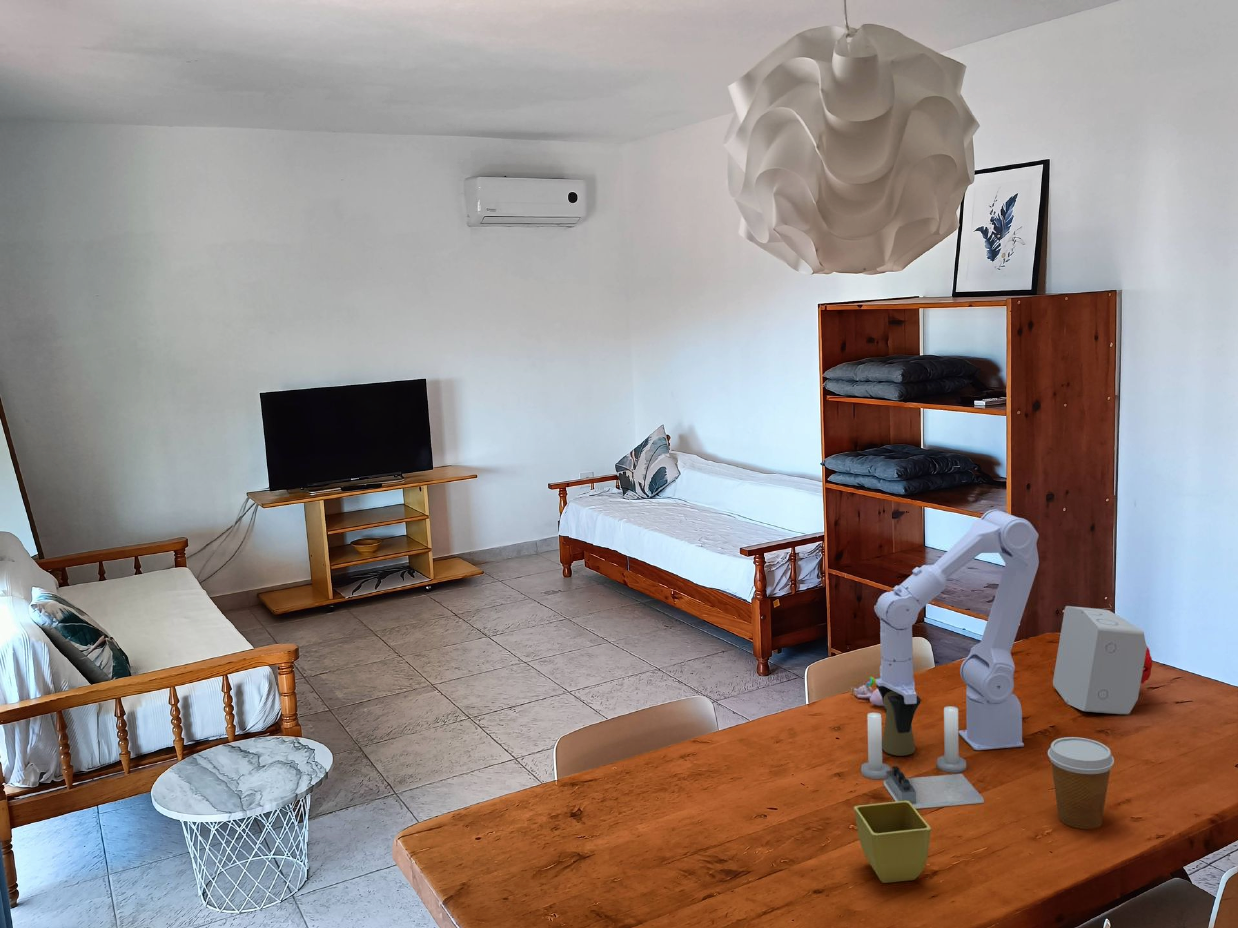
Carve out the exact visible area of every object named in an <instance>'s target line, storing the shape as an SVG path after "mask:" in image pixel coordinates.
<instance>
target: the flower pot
mask: <svg viewBox="0 0 1238 928" xmlns="http://www.w3.org/2000/svg"><path fill="white" fill-rule="evenodd" d="M853 810H854V815H855V816H854V817H855V823H856V829H857V835H858V840H859V843H860V846H861V848H862V850H863V853H864V856H865V858H866V859H867V862H868V863H869V865H870V866H871V868H872V870H873V871H874V872H875V874H876V876H877V878H878V879H879V881H880V882H881V883H883V884H888V883H897V882H905V881H914V880H916V879H917V878H918V877H919V876H920V874H921V873H922V871H923V870H924V868H925V865H926V863H927V861H928V856H929V849H930V848H929V847H930V839H931V831H932V827H931V826H930V825H929V823H927V821H926V820H925V819H924V818H923V817H922V816H921V815H920V813H919V811H918V810H917V809H915V808H914V806H913V805H912V804H911V803H910V802H909V801H897V802H896V801H890V802H889V801H888V802H881V803H869V804H862V805H860V804H859V805H855V806H854V807H853Z"/></svg>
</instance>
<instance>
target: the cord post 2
mask: <svg viewBox="0 0 1238 928" xmlns="http://www.w3.org/2000/svg"><path fill="white" fill-rule="evenodd" d="M943 731H944V732H943V742H944V743H943V744H944V745H943V746H944V748H943V749H944V755H941V756H939V757H937V759H936V766H937V768H938V769H939V770H941V771H943V772H946V773H949V772H950V774H961V773H964V772H965V771H966V770H967V760H966V759H964V758H963V757H960V756H959V709H958V707H956V706H950V705H949V706H944V708H943Z"/></svg>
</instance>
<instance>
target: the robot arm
mask: <svg viewBox="0 0 1238 928" xmlns="http://www.w3.org/2000/svg"><path fill="white" fill-rule="evenodd" d="M1038 540H1039V533H1038V532H1037V530H1036V529H1035V527H1034V526H1033V524H1032V523H1031V522H1030V521H1028V520H1027V519H1025V518H1023V517H1018V516H1015V515H1012V514H1009V513H1007V512H1005V511H1003V510H1000V509H996V508H995V509H990V510H988V511H986V512H985V513H983V515H982V516H981V517H980V518H978V519H976V520H975V521H973V523H972V524H971V526H970V528H969V530H968V531H967V532H966V533H965V534H964V535H963V536H962V537H960V539H959V540H957V542H956V543H954V545H953V546H951V547H950V548H949V549H948V551H946V552H945V553H944V554H943V555H942V556H941V557H940V558H939V559H938V560H937V561H935V563H934V564H931V565H927V564H923V565H922V566H920V567H918V566H916V567H915V568H913V569H912V570H911V571H912V574H911V575H910V576H908V577H907V578H906V579H905V580H904V581H903V582H902V583H899V585H895V586H894V587H893V589H892V590H893V591H886V592H884V593H882V594H881V595H880V596H879V598H878V599H877V602H876V604H875V605H874V607H873V610H874V612H875V614H876V616H877V617H878V618H879V622H880V624H879V625H880V629H879V630H880V632H879V634H880V635H879V636H880V637H879V638H880V663H881V664H880V665H879V676H880V677H879V678H875V683H876V685H875V686H876V689H878V690H879V692H880V694H881V697H882V700H883V703H884V696H885V695H886V694H887V693H888V692H890V691H895V692H897V693H898V696H888V700H889V702H890V704H891V706H892V709H893V712H894V716H895V723H896V728H897V731H898V733H907V732H910V728H911V725H912V724H913V720H914V715H915V713H916V711H917V709H918V708H919V706H920V704H921V702H922V701H921V697H920V696H918V695H917V692H916V691H915V678H914V658H913V657H914V655H913V652H914V651H913V649H914V648H913V625H915V623H916V622H917V620H918V617H919V613H920V611H921V610H922V609H923V608H925V607H926V605H928V604H929V603H930V602H931V601H932V600H934V599H935V598H936V597H937V596H939V595H940V594H941V593H942V592H943V591H945V589H946V585H947V579H948V578H950V577H951V576H952V575H954V574H955V573H956V572H957V571H959V570H960V569H962V568H963V567H964V566H966V565H967V564H969V563H970V562H971V561H973V559H975V558H976V557H978V556H979V555H981V554H997V553H998V554H999V556H1000V557H1001V559H1002V561H1003V562H1004V564H1005V565H1004V568H1003V571H1002V575H1001V577H1000V581H999V584H998V587H997V589H996V593H995V596H994V600H993V602H992V606H991V609H990V612H989V615H988V618H987V622H986V624H985V628H984V631H983V634H982V637H981V640H980V641H979V642H978V643H977V644H975V645H973V646H972V647H971V649H970V652H969V654H968V656H967V657H966V658H965V659H964V660H963V661H962V663H961V666H960V668H959V674H960V677H961V680H962V681H963V682H964V683H965V684H966V693H965V694H966V695H965V696H966V699H965V700H966V729H965V730H963V729H962V730H958V735H960V736H961V738H962V739H964V741H965V742H966V743H968V745H970V746H971V747H972V749H973V750H975V751H981V750H982V751H983V750H995V749H1005V748H1007V749H1010V748H1018V747H1021V748H1022V747H1024V746H1025V743H1023V711H1022V706H1021V702H1020V700H1019V699H1018V697H1017V696H1016V694H1013V692H1014V689H1015V682H1014V673H1015V671H1016V670H1015V669H1016V666H1015V663H1014V660H1013V657H1012V654H1011V652H1012V649H1013V646H1014V642H1015V639H1016V636H1017V633H1018V630H1019V626H1020V624H1021V620H1022V617H1023V615H1024V611H1025V608H1026V605H1027V603H1028V599H1029V596H1030V592H1031V590H1032V588H1033V583H1034V581H1035V577H1036V574H1037V571H1038V568H1039V565H1040V564H1039V563H1040V561H1039V560H1040V559H1039V552H1038V547H1037V546H1038V545H1037V542H1038ZM883 707H884V711H885V713H886V712H887V709H886V708H885V706H884V705H883Z"/></svg>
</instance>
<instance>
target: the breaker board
mask: <svg viewBox="0 0 1238 928" xmlns="http://www.w3.org/2000/svg"><path fill="white" fill-rule="evenodd" d="M885 779H886V780H885ZM885 779H883V786H884V787H885V789H886V790H887V791H888V793H889V794H890V796H891V798H893V800H894V802H897V801H909V802H910V803H911V804H912V805H913V806H914V808H915V809H916V810H917V809H918V810H919V809H928V808H941V807H949V806H950V807H951V806H952V807H953V806H961V805H962V806H963V805H975V804H984V797H983V796H982V795H981V794H980V793H979V792H978V790H977V789H976V788H975V787H974V786H973V784H972V783H971V782H970V781H969V780H968V779H967V778H966V776H964V774H962V773H952V774H943V775H931V776H920V777H909V778H907V777H906V776H905V774H904V773H903V772H902V771H901V769H900V767H899V766H898V765H893V766H891V769H890V771H886V778H885Z"/></svg>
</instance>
